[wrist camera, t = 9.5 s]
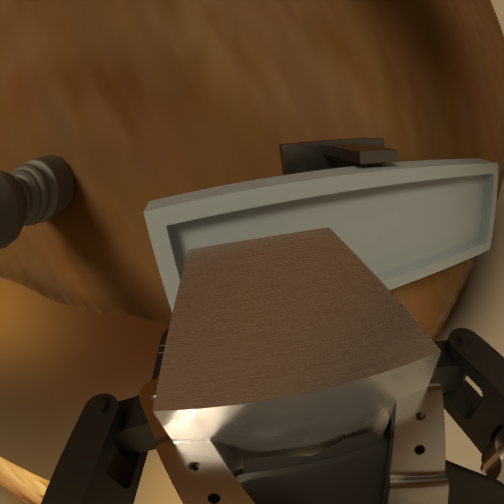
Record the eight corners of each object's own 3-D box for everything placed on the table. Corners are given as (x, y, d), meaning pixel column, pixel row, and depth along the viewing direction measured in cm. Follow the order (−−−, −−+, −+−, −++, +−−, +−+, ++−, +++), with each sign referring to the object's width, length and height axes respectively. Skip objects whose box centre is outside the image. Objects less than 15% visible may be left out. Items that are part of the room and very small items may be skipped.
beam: (148, 201, 17) (143, 211, 14) (478, 158, 22) (498, 163, 19) (182, 323, 20) (184, 346, 18) (472, 240, 25) (489, 249, 23)
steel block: (188, 249, 12) (153, 410, 5) (328, 227, 12) (441, 350, 5) (216, 354, 15) (219, 499, 7) (329, 335, 15) (387, 464, 7)
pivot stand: (279, 144, 25) (307, 150, 17) (377, 137, 25) (435, 145, 17) (291, 264, 30) (317, 316, 21) (379, 249, 30) (425, 290, 22)
